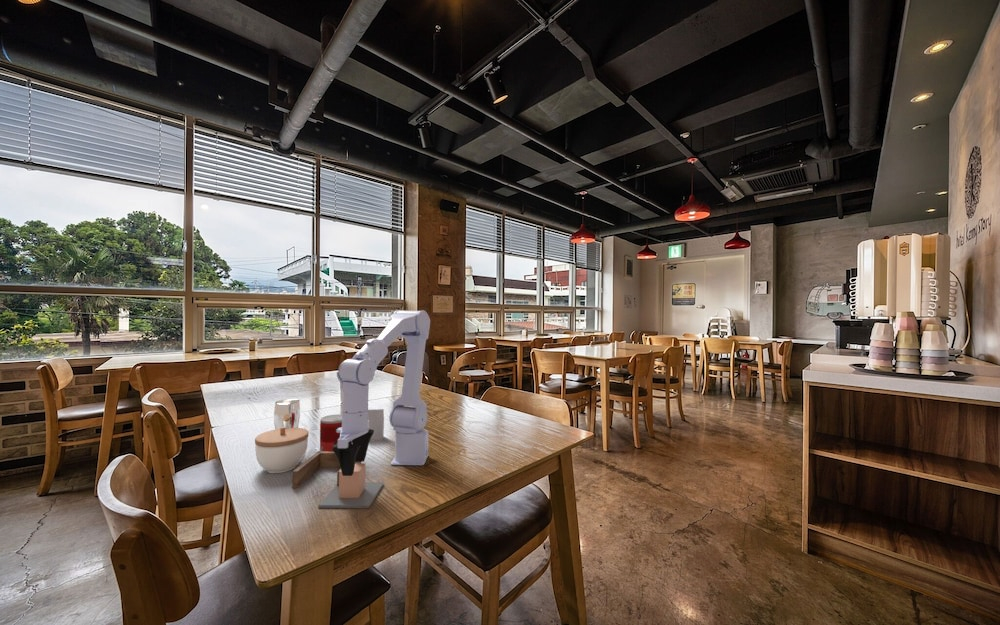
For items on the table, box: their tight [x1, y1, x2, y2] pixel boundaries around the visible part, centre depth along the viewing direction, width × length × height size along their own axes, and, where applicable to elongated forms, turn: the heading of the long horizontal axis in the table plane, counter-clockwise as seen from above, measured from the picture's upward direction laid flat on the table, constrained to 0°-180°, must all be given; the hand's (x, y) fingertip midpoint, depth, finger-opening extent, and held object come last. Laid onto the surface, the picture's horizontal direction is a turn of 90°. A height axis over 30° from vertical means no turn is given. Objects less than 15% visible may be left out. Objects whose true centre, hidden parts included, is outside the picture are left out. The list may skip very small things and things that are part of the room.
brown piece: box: [291, 450, 362, 489], centre depth 95 cm, size 12×13×4 cm
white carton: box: [273, 398, 301, 430], centre depth 112 cm, size 7×7×15 cm
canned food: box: [319, 414, 342, 452], centre depth 110 cm, size 8×8×11 cm
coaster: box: [317, 481, 385, 509], centre depth 85 cm, size 11×11×1 cm
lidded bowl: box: [254, 427, 309, 474], centre depth 99 cm, size 13×13×11 cm
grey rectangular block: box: [368, 408, 385, 442], centre depth 124 cm, size 4×7×10 cm, turn 101°
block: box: [338, 463, 366, 498], centre depth 85 cm, size 4×4×6 cm
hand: (354, 467), depth 85 cm, fingers open, 7 cm apart
